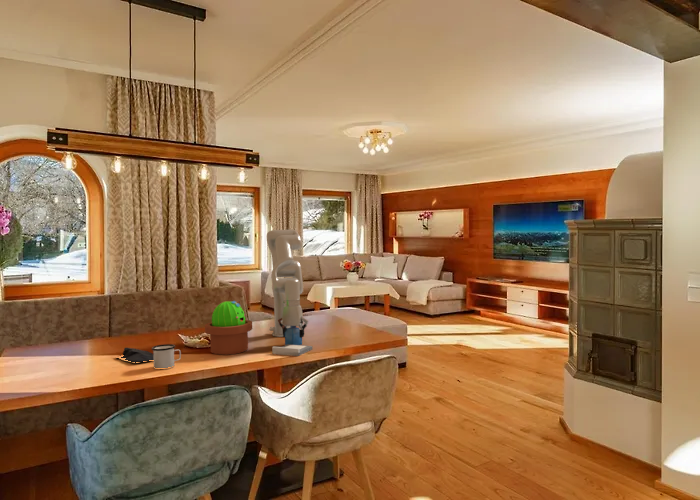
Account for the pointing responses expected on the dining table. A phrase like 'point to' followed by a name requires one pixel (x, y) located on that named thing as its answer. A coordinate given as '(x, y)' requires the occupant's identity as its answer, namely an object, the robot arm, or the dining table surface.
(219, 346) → the potted cactus
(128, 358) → the black folded cloth
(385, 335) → the dining table surface
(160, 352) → the mug
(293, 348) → the grey square slab
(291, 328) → the perfume bottle
